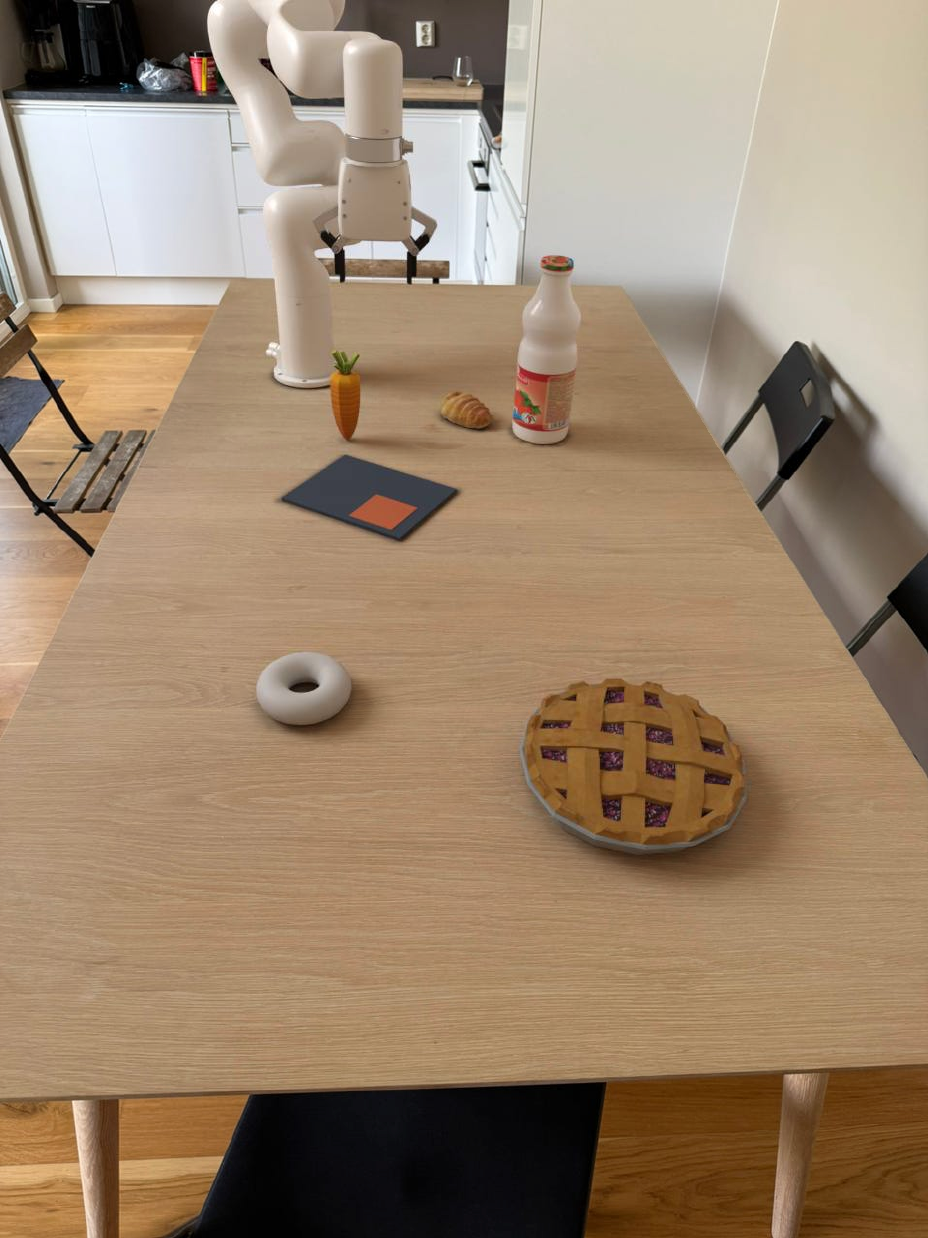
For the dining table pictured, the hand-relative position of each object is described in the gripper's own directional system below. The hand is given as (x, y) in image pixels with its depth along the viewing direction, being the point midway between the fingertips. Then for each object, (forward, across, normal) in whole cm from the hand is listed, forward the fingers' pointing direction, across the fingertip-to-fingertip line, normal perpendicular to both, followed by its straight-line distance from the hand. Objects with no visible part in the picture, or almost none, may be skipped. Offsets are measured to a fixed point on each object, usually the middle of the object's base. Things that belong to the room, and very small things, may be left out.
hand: (376, 280), depth 129 cm
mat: (+25, +1, +18) cm, 31 cm away
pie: (+25, -26, +74) cm, 82 cm away
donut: (+25, +7, +62) cm, 67 cm away
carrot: (+25, +5, +1) cm, 26 cm away
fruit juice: (+25, -27, -3) cm, 37 cm away
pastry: (+25, -15, -8) cm, 31 cm away
